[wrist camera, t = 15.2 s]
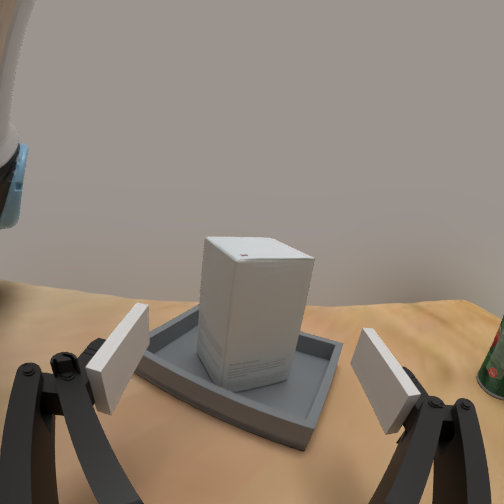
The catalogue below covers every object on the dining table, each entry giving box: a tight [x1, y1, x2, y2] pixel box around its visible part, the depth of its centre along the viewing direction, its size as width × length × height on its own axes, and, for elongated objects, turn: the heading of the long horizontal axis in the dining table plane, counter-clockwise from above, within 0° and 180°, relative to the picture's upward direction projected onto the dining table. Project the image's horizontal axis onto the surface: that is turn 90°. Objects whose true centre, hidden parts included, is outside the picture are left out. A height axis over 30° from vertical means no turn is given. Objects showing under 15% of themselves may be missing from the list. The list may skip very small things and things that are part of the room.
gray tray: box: [134, 305, 343, 451], centre depth 27 cm, size 18×14×3 cm
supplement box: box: [197, 237, 315, 393], centre depth 25 cm, size 7×7×13 cm
